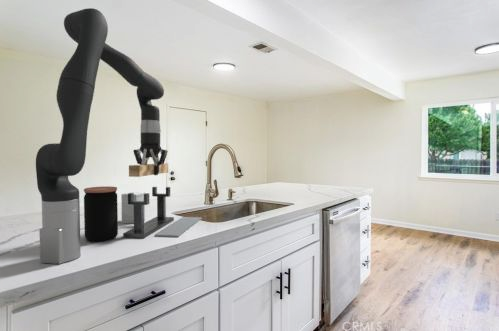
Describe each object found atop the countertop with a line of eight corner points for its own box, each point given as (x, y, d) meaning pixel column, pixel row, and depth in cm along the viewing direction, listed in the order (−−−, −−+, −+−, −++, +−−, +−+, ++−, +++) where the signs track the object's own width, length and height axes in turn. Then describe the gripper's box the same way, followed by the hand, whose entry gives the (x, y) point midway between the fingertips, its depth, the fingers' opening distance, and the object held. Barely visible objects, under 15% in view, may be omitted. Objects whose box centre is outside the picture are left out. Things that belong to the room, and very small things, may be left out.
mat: (178, 237, 108) (178, 235, 108) (154, 236, 109) (154, 234, 109) (201, 218, 138) (201, 217, 138) (182, 218, 139) (182, 216, 139)
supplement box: (136, 223, 128) (136, 194, 128) (121, 222, 130) (120, 193, 129) (145, 219, 135) (145, 192, 135) (131, 219, 137) (130, 191, 136)
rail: (139, 176, 107) (139, 165, 107) (128, 176, 107) (128, 165, 107) (168, 172, 133) (168, 163, 132) (159, 172, 133) (159, 163, 133)
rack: (144, 238, 107) (143, 195, 106) (123, 237, 108) (122, 194, 107) (173, 220, 134) (173, 186, 134) (156, 219, 135) (156, 185, 135)
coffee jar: (109, 232, 114) (108, 185, 113) (123, 237, 107) (122, 188, 106) (79, 238, 106) (78, 188, 105) (92, 244, 99) (91, 191, 98)
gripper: (128, 131, 116) (129, 175, 117) (163, 131, 115) (163, 176, 115) (138, 133, 124) (138, 174, 125) (171, 132, 122) (171, 174, 123)
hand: (150, 174), depth 120 cm, fingers closed on rail, 4 cm apart
